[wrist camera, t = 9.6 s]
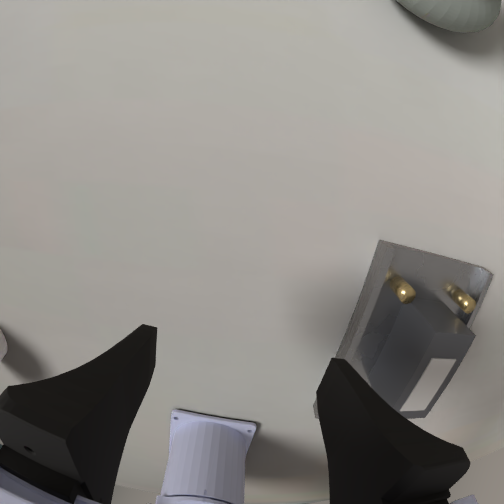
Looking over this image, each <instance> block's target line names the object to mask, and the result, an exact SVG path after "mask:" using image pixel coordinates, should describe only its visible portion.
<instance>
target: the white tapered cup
mask: <svg viewBox="0 0 504 504" xmlns="http://www.w3.org/2000/svg"><path fill="white" fill-rule="evenodd" d="M6 353H7V342H6V339H5V336H4V335H3V333H2V331H1V329H0V361H1V360H2V359H3V357H4V356H5V354H6Z"/></svg>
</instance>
